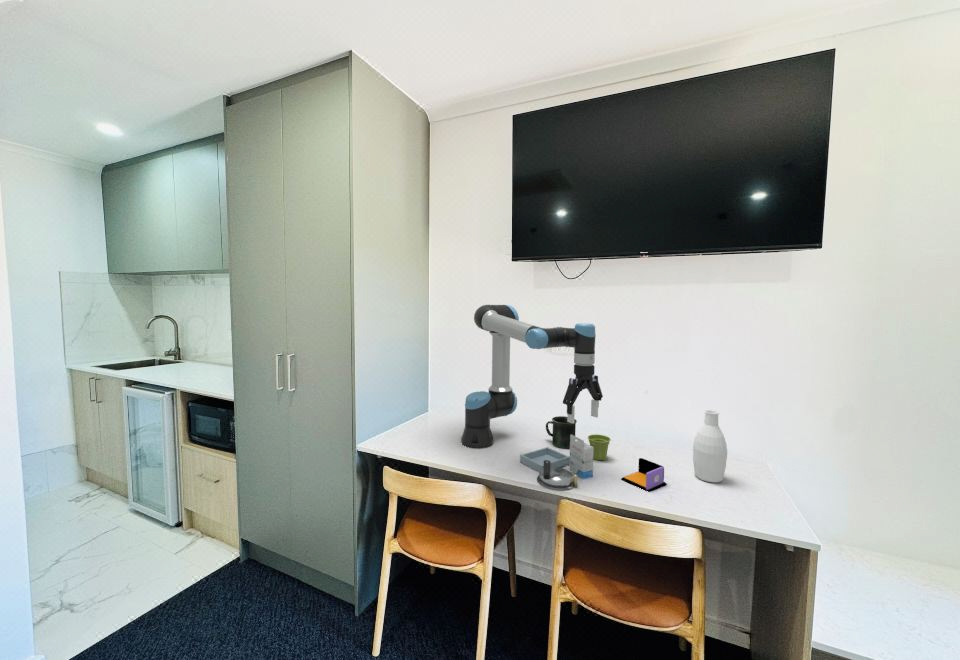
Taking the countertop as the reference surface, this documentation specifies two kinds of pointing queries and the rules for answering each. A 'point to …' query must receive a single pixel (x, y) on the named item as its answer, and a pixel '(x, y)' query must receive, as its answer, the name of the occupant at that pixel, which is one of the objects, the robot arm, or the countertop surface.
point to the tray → (538, 457)
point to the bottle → (710, 450)
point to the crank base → (560, 488)
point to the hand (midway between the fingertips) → (582, 419)
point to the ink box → (581, 458)
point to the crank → (555, 476)
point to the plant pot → (599, 446)
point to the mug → (561, 431)
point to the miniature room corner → (647, 476)
